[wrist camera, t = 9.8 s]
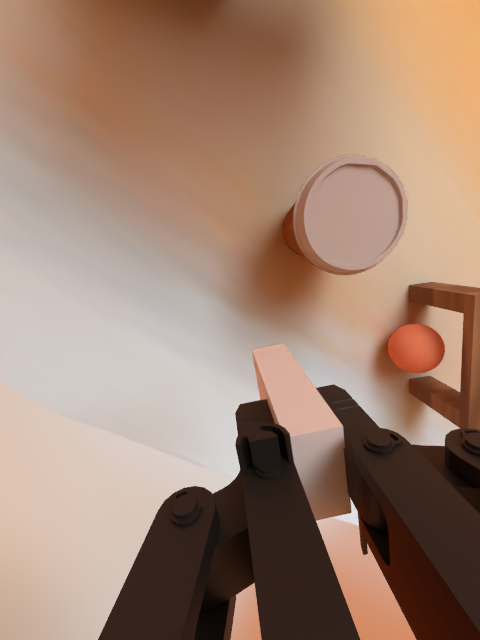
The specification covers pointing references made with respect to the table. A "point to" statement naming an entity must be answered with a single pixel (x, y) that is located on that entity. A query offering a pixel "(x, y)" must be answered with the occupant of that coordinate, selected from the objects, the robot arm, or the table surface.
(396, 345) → the ball
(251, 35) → the table surface
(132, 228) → the table surface
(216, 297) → the table surface
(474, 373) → the bridge
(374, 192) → the disposable coffee cup
